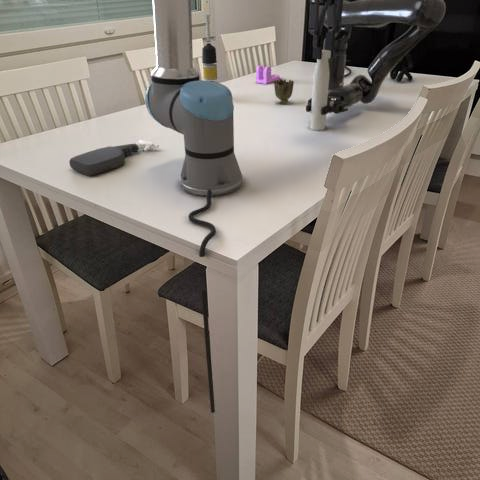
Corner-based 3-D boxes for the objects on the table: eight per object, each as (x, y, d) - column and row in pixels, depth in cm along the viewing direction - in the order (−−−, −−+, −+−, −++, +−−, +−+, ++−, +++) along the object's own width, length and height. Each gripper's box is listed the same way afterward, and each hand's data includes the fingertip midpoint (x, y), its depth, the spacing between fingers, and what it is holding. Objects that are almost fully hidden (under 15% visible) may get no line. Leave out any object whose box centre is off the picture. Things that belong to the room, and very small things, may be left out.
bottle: (308, 125, 148) (313, 52, 136) (323, 125, 148) (329, 52, 136) (311, 130, 143) (316, 55, 131) (326, 130, 144) (333, 55, 132)
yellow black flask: (220, 99, 177) (217, 15, 161) (206, 100, 176) (202, 16, 160) (215, 96, 182) (212, 14, 166) (202, 97, 180) (197, 14, 164)
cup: (270, 104, 170) (270, 82, 166) (278, 99, 176) (278, 78, 171) (288, 106, 167) (289, 84, 163) (295, 101, 173) (296, 80, 168)
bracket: (266, 84, 198) (266, 67, 194) (256, 82, 201) (256, 66, 197) (281, 78, 207) (282, 62, 203) (271, 77, 210) (272, 61, 206)
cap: (312, 57, 134) (312, 51, 133) (320, 55, 137) (321, 49, 136) (324, 59, 131) (325, 53, 130) (333, 57, 134) (333, 50, 133)
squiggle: (400, 92, 202) (376, 71, 205) (417, 76, 202) (392, 56, 205) (405, 81, 191) (380, 59, 194) (423, 64, 191) (397, 42, 194)
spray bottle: (67, 168, 120) (139, 144, 136) (91, 178, 114) (163, 151, 130) (65, 157, 118) (137, 134, 134) (89, 167, 112) (162, 142, 128)
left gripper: (320, -33, 114) (313, 63, 127) (360, -34, 125) (350, 54, 137) (297, -33, 119) (293, 60, 131) (338, -34, 129) (330, 52, 142)
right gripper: (323, 84, 153) (296, 94, 142) (361, 90, 145) (335, 101, 134) (321, 106, 157) (294, 118, 146) (359, 113, 149) (333, 126, 138)
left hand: (322, 57), depth 134 cm, fingers open, 5 cm apart
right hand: (314, 110), depth 140 cm, fingers closed on bottle, 5 cm apart
